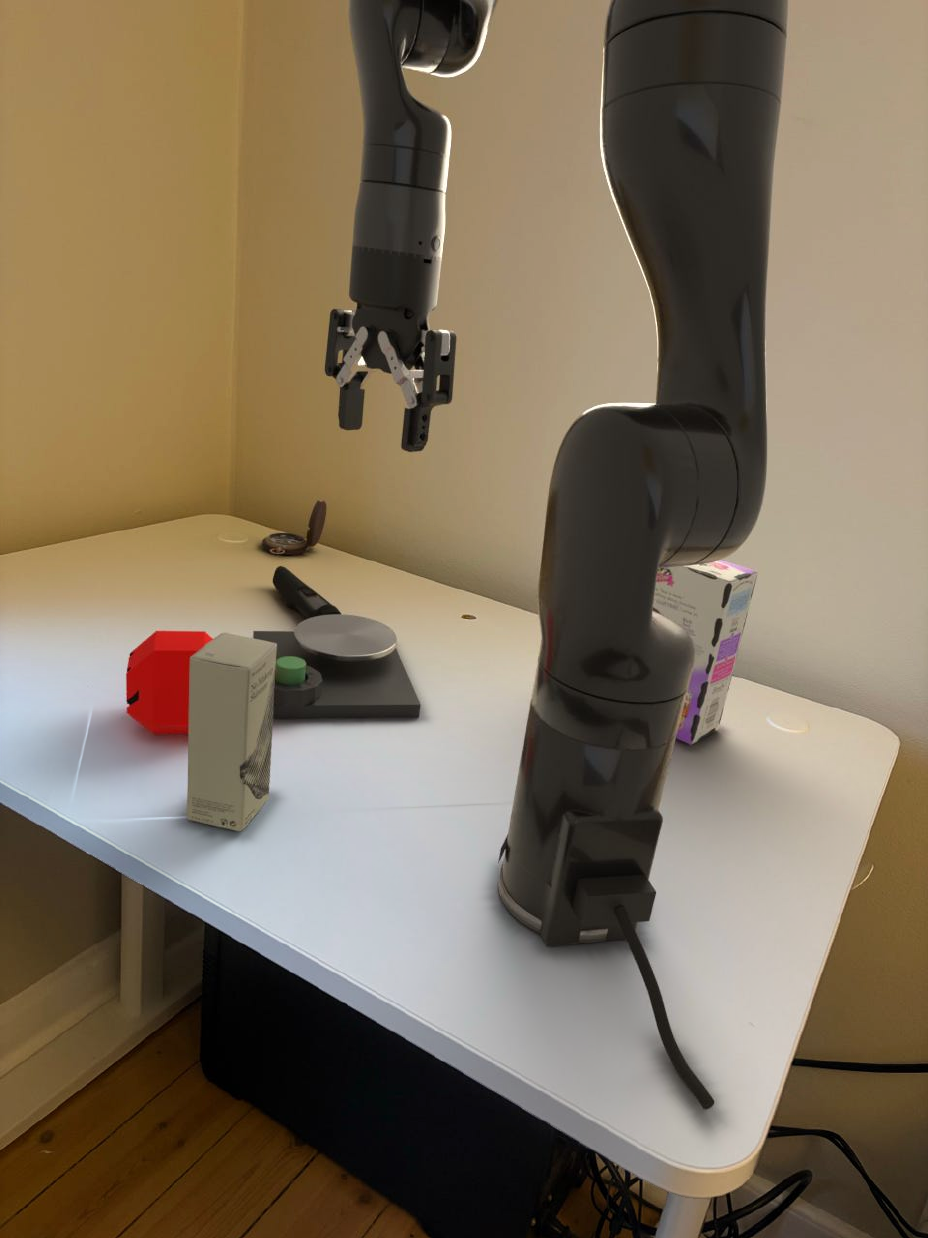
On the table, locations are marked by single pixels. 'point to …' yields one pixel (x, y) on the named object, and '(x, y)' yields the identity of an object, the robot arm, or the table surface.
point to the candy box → (706, 633)
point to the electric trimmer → (301, 595)
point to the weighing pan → (345, 637)
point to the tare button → (290, 670)
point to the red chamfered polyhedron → (162, 680)
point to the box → (230, 730)
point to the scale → (342, 686)
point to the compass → (294, 542)
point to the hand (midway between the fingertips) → (380, 439)
